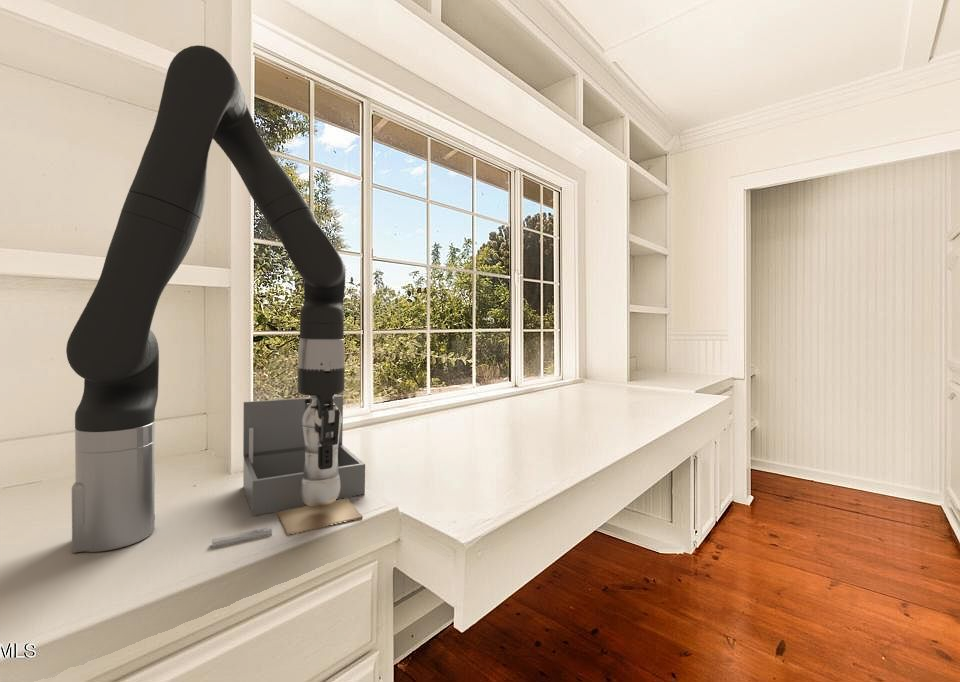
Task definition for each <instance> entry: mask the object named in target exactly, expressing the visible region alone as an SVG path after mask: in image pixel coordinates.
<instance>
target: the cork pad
mask: <svg viewBox="0 0 960 682" xmlns="http://www.w3.org/2000/svg"><path fill="white" fill-rule="evenodd" d="M277 515H278V518H279V519H280V522H281V525H282V527H283V529H284V531H285V534H286V536H291V535H290V534H292V535H296V534H300V533H299V532H301V533H303V531H305V532H308V531H307V530H310V531H313V529H314V530H317V528H319V529H322V528H321V527H323V528H326V527H325V526H327V527H329V526H328V525H331V524H335V523H339V522H344V521H350V520H354V521H357V520H356V519H359V520H363V519H362V518H363V515H362V514H361V512H360V511H359V510H358V509H357V508H356V507H355V505H353V503H352V502H351V501H350V500H349V498H344V499H339V500H336V501H334V502H333V503H331V504H328V505H324V506H308V505H307V506H302V507H297V508H292V509H287V510H281V511H277ZM350 522H351V521H350ZM295 533H296V534H295Z"/></svg>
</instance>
